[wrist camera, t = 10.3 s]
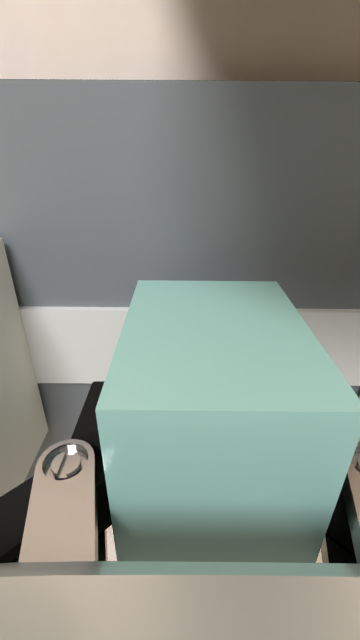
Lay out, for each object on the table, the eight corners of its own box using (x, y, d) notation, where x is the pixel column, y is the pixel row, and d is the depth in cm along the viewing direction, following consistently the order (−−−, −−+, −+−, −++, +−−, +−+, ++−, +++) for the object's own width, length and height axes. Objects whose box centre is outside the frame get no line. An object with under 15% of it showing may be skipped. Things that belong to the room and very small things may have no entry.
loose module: (276, 281, 11) (368, 411, 5) (252, 441, 14) (295, 619, 9) (138, 280, 11) (95, 409, 5) (146, 440, 14) (125, 617, 9)
